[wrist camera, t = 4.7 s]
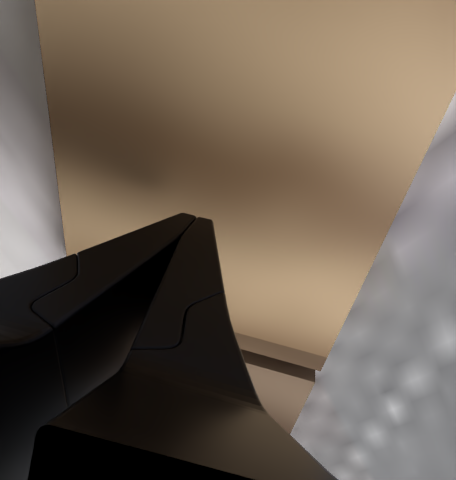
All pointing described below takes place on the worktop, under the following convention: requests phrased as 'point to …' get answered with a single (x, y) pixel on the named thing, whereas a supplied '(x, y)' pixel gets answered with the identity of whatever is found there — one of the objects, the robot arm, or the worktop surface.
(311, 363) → the tan rectangular slab
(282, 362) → the tan flat block
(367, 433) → the worktop surface
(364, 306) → the worktop surface
